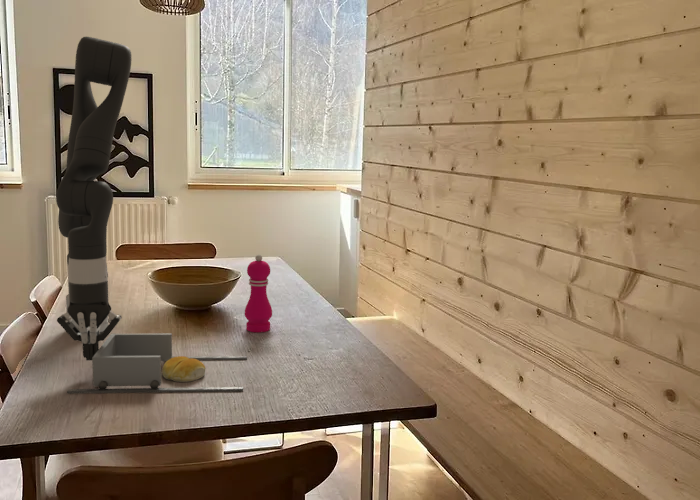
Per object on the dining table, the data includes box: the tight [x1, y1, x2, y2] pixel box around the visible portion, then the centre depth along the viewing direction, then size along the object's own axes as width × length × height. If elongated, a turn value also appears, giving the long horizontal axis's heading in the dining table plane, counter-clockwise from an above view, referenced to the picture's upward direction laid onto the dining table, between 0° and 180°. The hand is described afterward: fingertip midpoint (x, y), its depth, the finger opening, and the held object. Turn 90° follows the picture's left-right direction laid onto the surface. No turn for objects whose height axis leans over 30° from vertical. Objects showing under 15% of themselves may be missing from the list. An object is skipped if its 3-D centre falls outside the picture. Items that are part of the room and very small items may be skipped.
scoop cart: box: [91, 332, 173, 389], centre depth 142 cm, size 13×18×6 cm
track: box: [66, 355, 248, 394], centre depth 143 cm, size 34×20×1 cm, turn 96°
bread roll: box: [161, 355, 206, 383], centre depth 143 cm, size 8×9×4 cm
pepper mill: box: [244, 254, 273, 333], centre depth 176 cm, size 7×7×20 cm
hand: (91, 359), depth 141 cm, fingers closed
